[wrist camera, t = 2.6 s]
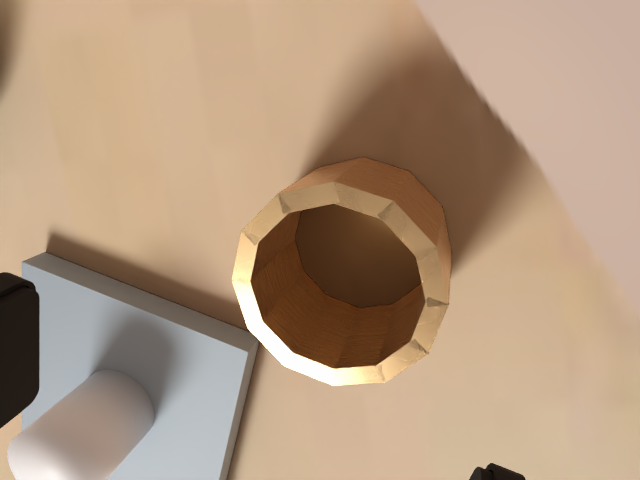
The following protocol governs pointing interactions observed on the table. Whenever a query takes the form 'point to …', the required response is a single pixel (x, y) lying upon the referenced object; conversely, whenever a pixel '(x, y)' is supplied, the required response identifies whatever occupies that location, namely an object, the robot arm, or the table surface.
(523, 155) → the table surface
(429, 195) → the ring
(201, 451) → the block
